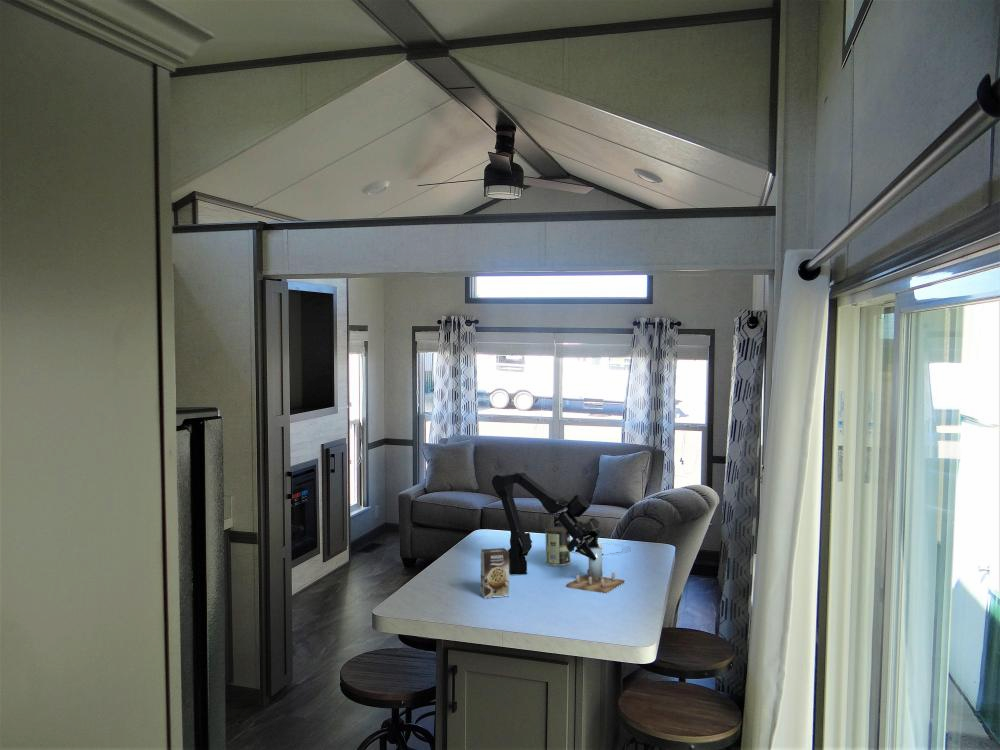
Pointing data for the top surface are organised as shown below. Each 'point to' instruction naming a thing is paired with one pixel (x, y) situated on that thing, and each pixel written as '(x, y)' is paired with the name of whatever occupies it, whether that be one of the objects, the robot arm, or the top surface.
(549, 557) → the coffee can
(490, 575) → the brown food box
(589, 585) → the dish rack
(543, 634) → the top surface
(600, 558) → the grey dome-topped cylinder
